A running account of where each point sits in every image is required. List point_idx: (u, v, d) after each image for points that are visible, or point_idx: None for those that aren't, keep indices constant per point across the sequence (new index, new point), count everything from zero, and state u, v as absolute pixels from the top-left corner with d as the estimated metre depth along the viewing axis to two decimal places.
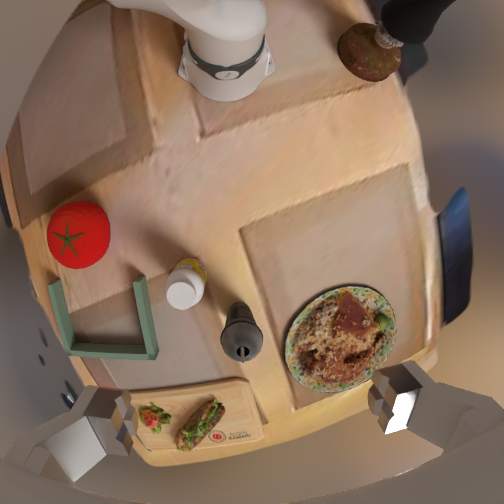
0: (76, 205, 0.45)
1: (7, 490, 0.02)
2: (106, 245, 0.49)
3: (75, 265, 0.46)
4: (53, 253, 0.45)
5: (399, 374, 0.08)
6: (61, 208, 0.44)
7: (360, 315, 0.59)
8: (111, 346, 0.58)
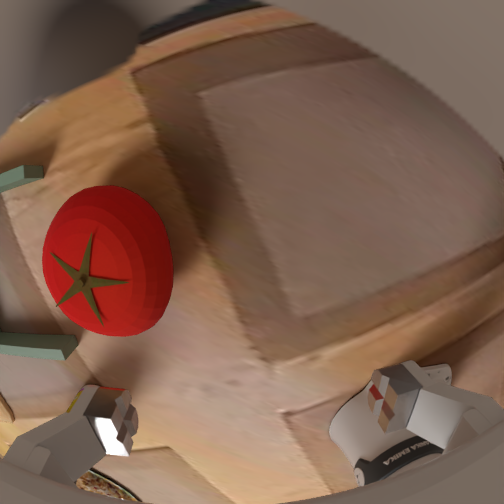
0: (159, 286, 0.23)
1: (7, 490, 0.02)
2: None
3: None
4: (56, 229, 0.20)
5: (399, 374, 0.08)
6: (150, 243, 0.22)
7: None
8: None
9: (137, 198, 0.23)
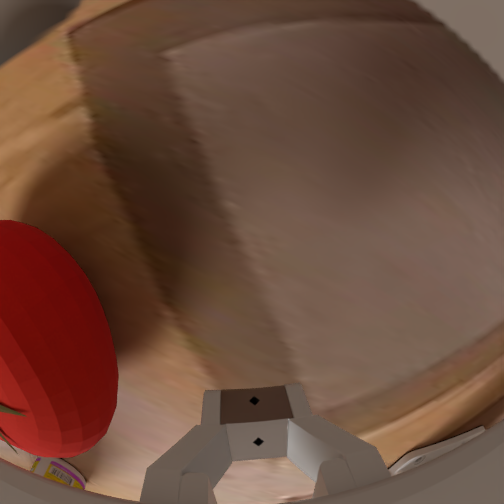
0: (83, 415, 0.10)
1: (7, 490, 0.02)
2: None
3: None
4: None
5: (273, 398, 0.07)
6: (53, 349, 0.09)
7: None
8: None
9: (36, 250, 0.10)
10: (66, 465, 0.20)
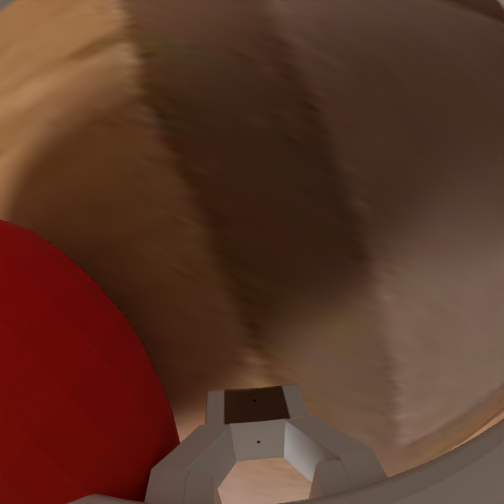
0: None
1: None
2: None
3: None
4: None
5: (270, 398, 0.07)
6: None
7: None
8: None
9: (30, 282, 0.05)
10: None
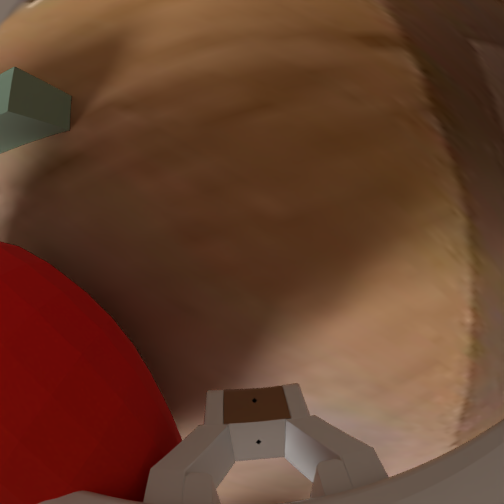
0: None
1: None
2: None
3: None
4: None
5: (271, 398, 0.07)
6: None
7: None
8: None
9: (14, 293, 0.05)
10: None
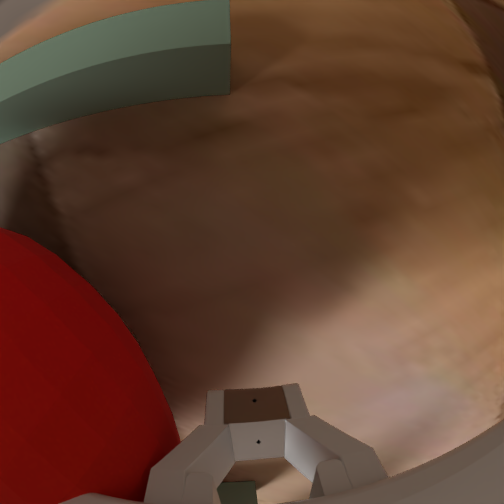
0: None
1: None
2: None
3: None
4: None
5: (271, 398, 0.07)
6: None
7: None
8: None
9: (23, 285, 0.05)
10: None
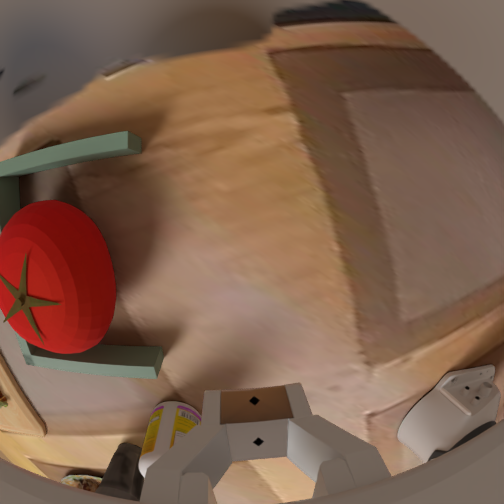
0: (93, 308, 0.20)
1: (7, 490, 0.02)
2: None
3: None
4: None
5: (273, 398, 0.07)
6: (82, 263, 0.19)
7: None
8: None
9: (74, 214, 0.20)
10: (191, 407, 0.31)
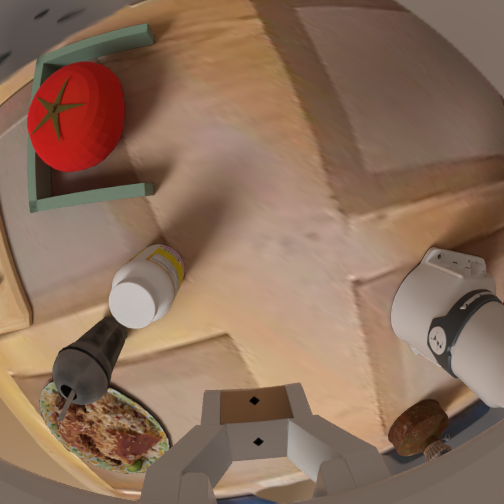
0: (107, 114, 0.25)
1: (7, 490, 0.02)
2: (58, 169, 0.28)
3: (28, 127, 0.23)
4: (44, 83, 0.22)
5: (273, 398, 0.07)
6: (107, 84, 0.24)
7: (137, 451, 0.41)
8: None
9: (104, 66, 0.26)
10: (174, 250, 0.36)
